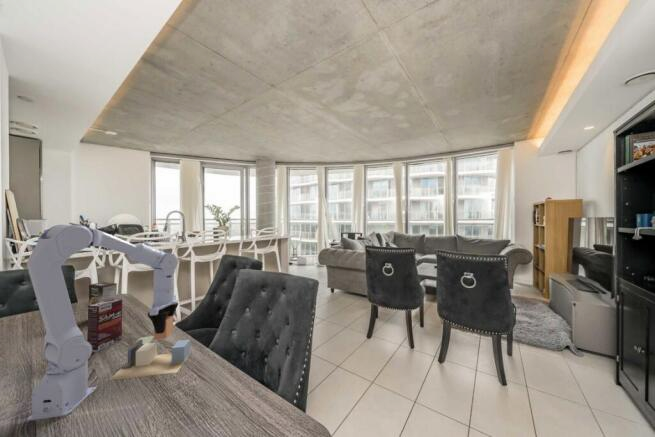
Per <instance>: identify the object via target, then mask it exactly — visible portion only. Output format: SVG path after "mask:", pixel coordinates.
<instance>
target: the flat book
mask: <svg viewBox="0 0 655 437" xmlns="http://www.w3.org/2000/svg"><path fill="white" fill-rule="evenodd" d="M139 340H142V346H143V345H144V344H146V343H153V341H154V340H155V339H154V335H151V336H143V337H139V338H138V339H137V340H136V342H138V341H139Z"/></svg>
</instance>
